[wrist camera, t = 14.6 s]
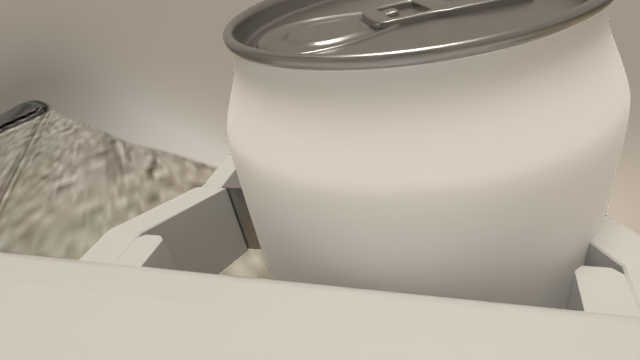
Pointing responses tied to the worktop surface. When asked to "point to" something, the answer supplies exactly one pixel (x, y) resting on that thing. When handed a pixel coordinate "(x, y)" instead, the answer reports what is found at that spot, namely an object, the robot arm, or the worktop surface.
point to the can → (428, 142)
